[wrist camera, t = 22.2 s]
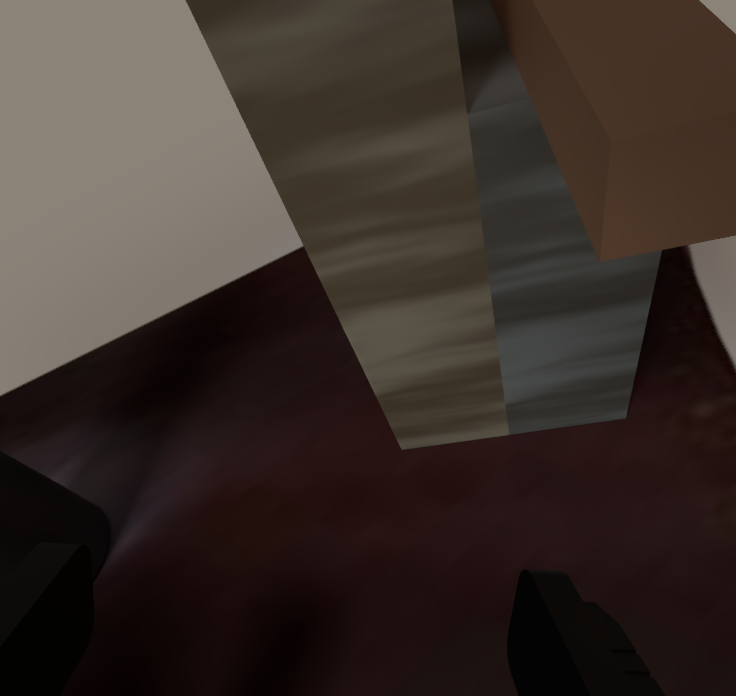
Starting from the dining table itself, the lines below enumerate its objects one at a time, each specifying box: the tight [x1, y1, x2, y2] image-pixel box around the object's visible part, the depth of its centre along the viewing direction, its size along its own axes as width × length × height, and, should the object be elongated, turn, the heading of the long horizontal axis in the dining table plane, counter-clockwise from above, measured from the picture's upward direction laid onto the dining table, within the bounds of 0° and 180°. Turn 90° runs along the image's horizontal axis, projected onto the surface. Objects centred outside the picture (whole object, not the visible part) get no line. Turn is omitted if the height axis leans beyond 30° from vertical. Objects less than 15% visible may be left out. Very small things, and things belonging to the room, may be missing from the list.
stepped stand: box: [186, 0, 662, 450], centre depth 30 cm, size 12×16×32 cm
